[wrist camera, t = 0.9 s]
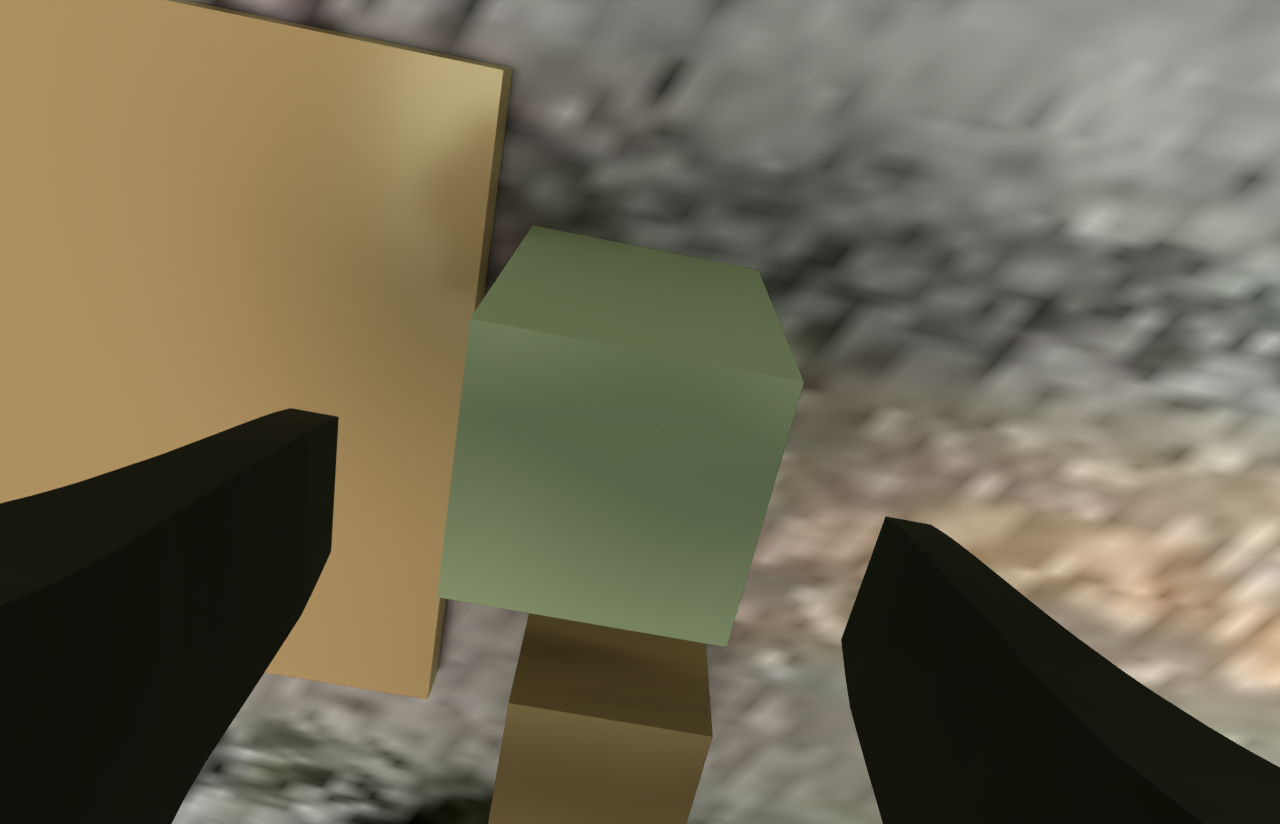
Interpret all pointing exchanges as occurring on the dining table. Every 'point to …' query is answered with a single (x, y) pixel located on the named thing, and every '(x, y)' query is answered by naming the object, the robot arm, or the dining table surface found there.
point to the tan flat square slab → (250, 276)
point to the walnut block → (602, 727)
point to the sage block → (617, 437)
